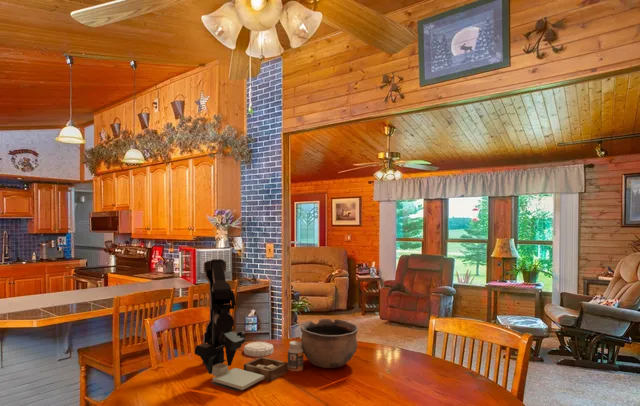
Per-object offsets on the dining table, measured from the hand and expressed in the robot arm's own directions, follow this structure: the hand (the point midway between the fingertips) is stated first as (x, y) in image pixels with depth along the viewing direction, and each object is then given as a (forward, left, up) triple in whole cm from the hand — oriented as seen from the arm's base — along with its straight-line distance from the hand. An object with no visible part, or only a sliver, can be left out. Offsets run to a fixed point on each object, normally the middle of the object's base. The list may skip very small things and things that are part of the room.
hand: (220, 369), depth 145 cm
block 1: (+9, +11, -3) cm, 14 cm away
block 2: (+12, +13, -3) cm, 18 cm away
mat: (+6, 0, -4) cm, 7 cm away
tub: (+10, +12, -4) cm, 16 cm away
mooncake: (-7, +29, -4) cm, 30 cm away
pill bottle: (+16, +22, -4) cm, 28 cm away
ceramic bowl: (+24, +33, -4) cm, 41 cm away
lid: (+6, 0, -3) cm, 7 cm away
